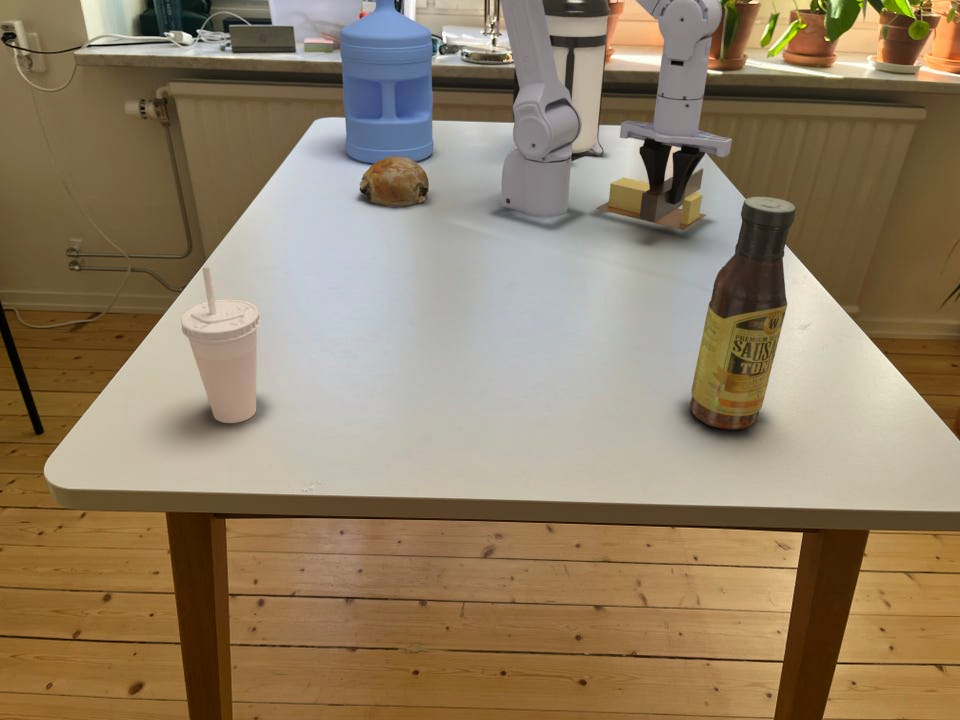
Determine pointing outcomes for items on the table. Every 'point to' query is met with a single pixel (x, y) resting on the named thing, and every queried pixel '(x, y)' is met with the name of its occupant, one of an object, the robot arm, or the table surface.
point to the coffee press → (579, 59)
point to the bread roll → (395, 182)
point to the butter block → (627, 194)
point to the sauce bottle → (744, 319)
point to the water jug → (387, 86)
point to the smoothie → (225, 352)
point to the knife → (666, 198)
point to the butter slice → (691, 208)
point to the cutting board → (668, 220)
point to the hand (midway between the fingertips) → (665, 200)
